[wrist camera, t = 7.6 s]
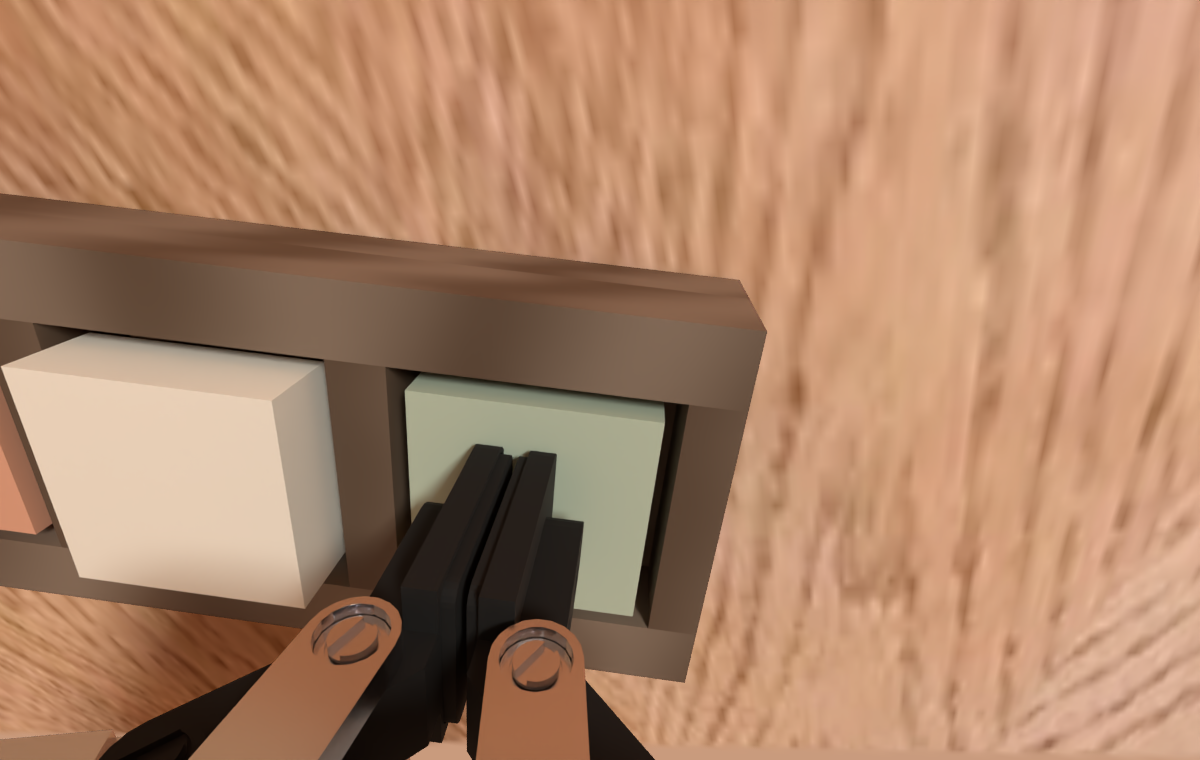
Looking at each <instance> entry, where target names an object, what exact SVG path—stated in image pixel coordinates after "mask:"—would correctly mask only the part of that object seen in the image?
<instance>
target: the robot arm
mask: <svg viewBox="0 0 1200 760" xmlns="http://www.w3.org/2000/svg"><path fill="white" fill-rule="evenodd" d="M556 461H557V454H555V453H547V452H539V451H530V453H529V455H528V457H523V456H519V458H518V460H517V463H516V465H515V468H514V471H513V473H512V465H513V458H512V455H507V454H504V448H503V447H499V446H491V445H483V444H476V445H475V446H474V448H473V450H472V452H471V453H470V455H469V457H468V459H467V461H466V463H465V465H464V467H463V469H462V471H461V473H460V474H459V476H458V478H457V480H456V482H455V484H454V486H453V488H452V490H451V492H450V493H449V495H448V497H447V499H446V501H445V503H444V504H443V503H435V502H426V503H424V504H423V506H422V507H421V509H420V510H419V512H418V514H417V515H416V517H415V519H414V521H413V522H412V524H411V526H410V528H409V529H408V531H407V533H406V534H405V536H404V538H403V540H402V541H401V543H400V545H399V547H398V548H397V550H396V552H395V553H394V555H393V557H392V559H391V560H390V562H389V564H388V566H387V567H386V569H385V571H384V572H383V574H382V576H381V578H380V579H379V581H378V583H377V585H376V586H375V588H374V590H373V591H372V593H371V595H370V597H368V596H362V597H353V598H348V599H345V600H342V601H339V602H336V603H334V604H332V605H330V606H328V607H327V608H325V609H323V610H321V611H320V612H319V613H318V614H317V615H316V616H315V617H314V618H312V619H311V620H310V621H309V622H308V623H307V625H306V626H305V627H304V628H303V629H302V630H301V631H300V633H299V634H298V635H297V636H296V637H295V638H294V639H293V641H292V642H291V643H290V644H289V645H288V646H287V647H286V649H285V650H284V651H283V652H282V653H281V654H280V655H279V657H278V658H277V659H276V660H275V661H274V662H273V663H272V664H269V665H267V666H265V667H263V668H261V669H259V670H257V671H254V672H252V673H250V674H248V675H246V676H244V677H242V678H239V679H237V680H235V681H233V682H231V683H229V684H226V685H224V686H222V687H220V688H218V689H216V690H214V691H211V692H209V693H207V694H205V695H203V696H201V697H199V698H196V699H194V700H192V701H190V702H188V703H186V704H183V705H181V706H179V707H177V708H175V709H173V710H171V711H168V712H166V713H164V714H162V715H160V716H158V717H156V718H153V719H151V720H149V721H147V722H145V723H144V724H142V725H140V726H138V727H137V728H135V729H133V730H131V731H130V732H128V733H126V734H125V735H124V736H123V737H116V736H115V734H114V731H113V730H102V731H91V732H79V733H68V734H56V735H45V736H34V737H22V738H11V739H0V760H410V757H411V756H413V755H414V754H416V753H417V752H419V751H420V750H422V749H424V748H425V747H427V746H428V745H429V742H438V743H442V741H443V738H444V735H445V732H446V729H447V726H448V722H451V723H459V721H460V719H461V716H462V713H463V710H464V706H465V703H466V700H467V752H468V754H469V755H470V757H471V758H472V760H655V759H654V758H653V757H652V756H651V755H650V754H649V752H648V751H647V750H646V749H645V748H644V747H643V745H642V744H641V743H640V742H639V741H638V740H637V739H636V737H635V736H634V735H633V734H632V733H631V732H630V731H629V729H628V728H627V727H626V726H625V725H624V724H623V723H622V721H621V720H620V719H619V718H618V717H617V716H616V714H615V713H614V712H613V711H612V710H611V709H610V708H609V706H608V705H607V704H606V703H605V702H604V701H603V700H602V698H601V697H600V696H599V695H598V694H597V693H596V692H595V690H594V689H593V688H592V687H591V686H590V685H589V684H588V682H587V681H586V680H585V665H584V655H583V651H582V647H581V644H580V643H579V641H578V640H577V638H576V637H575V635H574V634H573V633H572V632H570V628H571V622H572V615H573V608H574V602H575V595H576V588H577V581H578V573H579V565H580V557H581V548H582V539H583V529H584V522H583V521H575V520H568V519H560V518H552V513H553V500H554V487H555V474H556Z"/></svg>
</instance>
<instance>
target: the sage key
mask: <svg viewBox="0 0 1200 760" xmlns="http://www.w3.org/2000/svg"><path fill="white" fill-rule="evenodd" d="M405 404H406V424H407V444H408V464H409V483H410V503H411V523H412V522H413V521H414V519H415V517H416V515H417V514H418V512H419V510H420V509H421V507H422V506H423V504H424V503H426V502H435V503H443V504H444V503H445V501H446V499H447V497H448V495H449V493H450V492H451V490H452V488H453V486H454V484H455V482H456V480H457V478H458V476H459V474H460V473H461V471H462V469H463V467H464V465H465V463H466V461H467V459H468V457H469V455H470V453H471V452H472V450H473V448H474V446H475V445H476V444H483V445H491V446H499V447H503V448H504V454H507V455H512V458H513V465H512V473H513V471H514V468H515V465H516V463H517V460H518V458H519V456H523V457H528V455H529V453H530V451H539V452H547V453H555V454H557V461H556V474H555V487H554V500H553V513H552V518H560V519H568V520H575V521H583V522H584V529H583V539H582V548H581V557H580V565H579V573H578V581H577V588H576V595H575V602H574V609H581V610H589V611H596V612H603V613H610V614H618V615H625V616H632V617H633V612H634V606H635V600H636V594H637V588H638V582H639V576H640V570H641V564H642V558H643V552H644V546H645V540H646V534H647V528H648V522H649V516H650V510H651V504H652V498H653V492H654V486H655V480H656V474H657V468H658V462H659V456H660V450H661V444H662V438H663V432H664V426H665V413H664V402H663V401H655V400H647V399H639V398H631V397H623V396H615V395H607V394H599V393H591V392H583V391H575V390H567V389H559V388H551V387H543V386H535V385H527V384H519V383H511V382H502V381H494V380H486V379H478V378H470V377H462V376H454V375H446V374H438V373H430V372H421V373H420V374H419V375H418V376H417V377H416V379H415V380H414V381H413V382H412V383H411V384H410V385H409V386H408V387H407V389H406V390H405Z"/></svg>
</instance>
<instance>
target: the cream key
mask: <svg viewBox="0 0 1200 760" xmlns="http://www.w3.org/2000/svg"><path fill="white" fill-rule="evenodd" d="M1 368H2V371H3V374H4V376H5V379H6V382H7V384H8V387H9V390H10V392H11V395H12V398H13V400H14V403H15V406H16V408H17V411H18V414H19V416H20V419H21V422H22V424H23V427H24V430H25V432H26V435H27V438H28V440H29V443H30V446H31V448H32V451H33V454H34V456H35V459H36V462H37V464H38V467H39V470H40V472H41V475H42V478H43V480H44V483H45V486H46V488H47V491H48V494H49V496H50V499H51V502H52V504H53V507H54V510H55V512H56V515H57V518H58V520H59V523H60V526H61V528H62V531H63V534H64V536H65V539H66V542H67V545H68V547H69V550H70V553H71V555H72V558H73V561H74V563H75V566H76V569H77V571H78V574H79V577H82V578H89V579H96V580H103V581H111V582H118V583H125V584H132V585H139V586H146V587H153V588H161V589H168V590H175V591H182V592H189V593H196V594H203V595H210V596H218V597H225V598H232V599H239V600H246V601H253V602H260V603H268V604H275V605H282V606H289V607H296V608H303V609H305V608H306V607H307V605H308V604H309V603H310V601H311V600H312V598H313V597H314V595H315V594H316V593H317V591H318V590H319V588H320V587H321V586H322V584H323V583H324V581H325V580H326V578H327V577H328V576H329V574H330V573H331V571H332V570H333V569H334V567H335V566H336V564H337V563H338V561H339V560H340V559H341V557H342V556H343V554H344V553H345V552H346V551H345V542H344V533H343V525H342V516H341V507H340V498H339V490H338V481H337V472H336V463H335V455H334V446H333V437H332V428H331V420H330V411H329V402H328V393H327V385H326V376H325V367H324V362H323V361H315V360H307V359H299V358H291V357H283V356H275V355H267V354H259V353H251V352H243V351H235V350H227V349H219V348H211V347H203V346H195V345H187V344H179V343H171V342H163V341H155V340H147V339H139V338H131V337H123V336H115V335H107V334H99V333H91V332H89V333H87V334H84V335H82V336H79V337H76V338H74V339H71V340H68V341H66V342H63V343H61V344H58V345H55V346H53V347H50V348H47V349H45V350H42V351H40V352H37V353H34V354H32V355H29V356H26V357H24V358H21V359H19V360H16V361H13V362H11V363H8V364H5V365H3V366H1Z"/></svg>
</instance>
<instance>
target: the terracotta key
mask: <svg viewBox="0 0 1200 760" xmlns="http://www.w3.org/2000/svg"><path fill="white" fill-rule="evenodd" d="M51 524H52V521H51V518H50V515H49V513H48V510H47V508H46V505H45V502H44V500H43V497H42V494H41V492H40V489H39V487H38V484H37V481H36V479H35V476H34V473H33V471H32V468H31V466H30V463H29V460H28V458H27V455H26V452H25V450H24V447H23V445H22V442H21V439H20V437H19V434H18V431H17V429H16V426H15V424H14V421H13V418H12V416H11V413H10V410H9V408H8V405H7V403H6V400H5V397H4V395H3V392H2V389H1V387H0V530H7V531H14V532H22V533H29V534H38V533H39V532H41V531H42V530H43V529H45V528H46V527H48V526H49V525H51Z"/></svg>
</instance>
